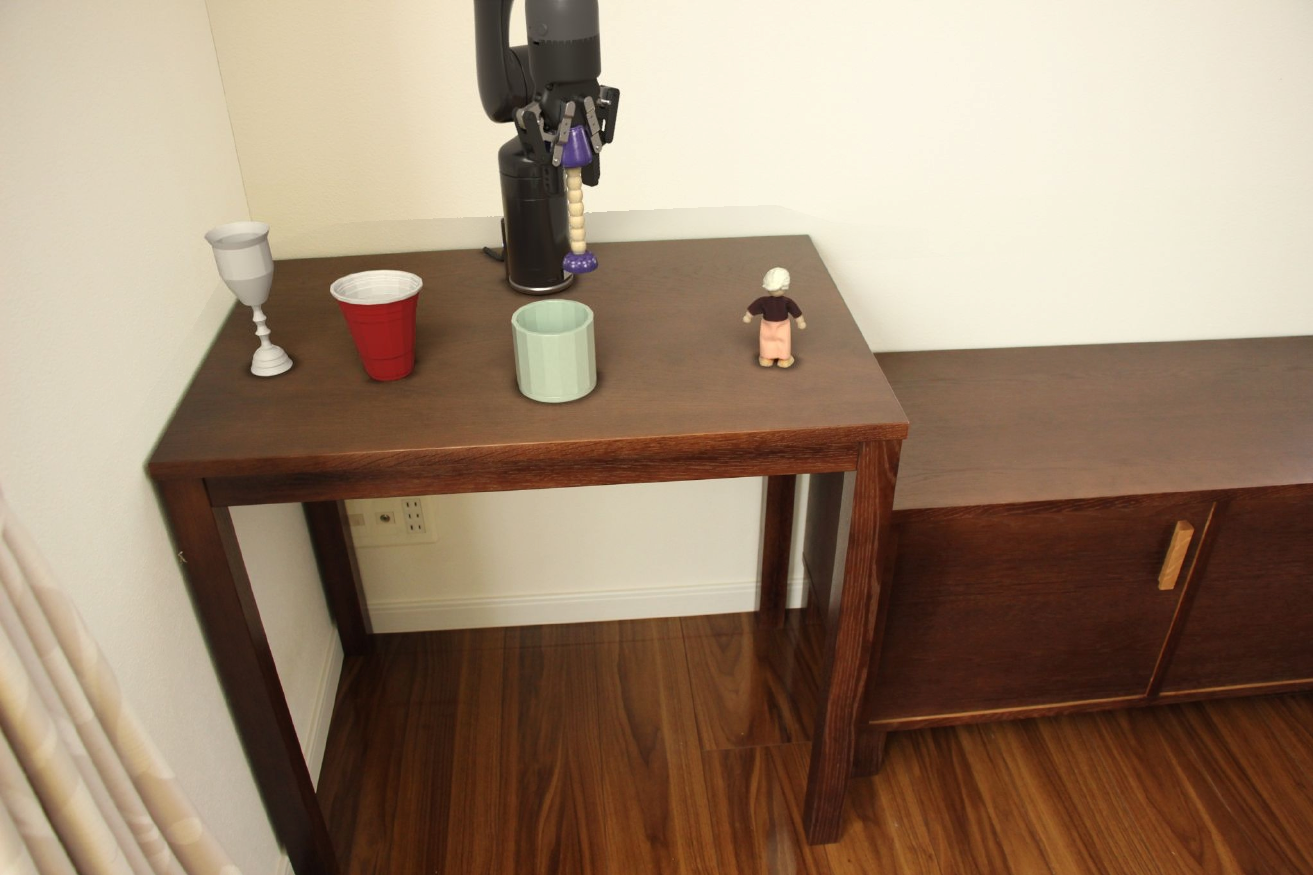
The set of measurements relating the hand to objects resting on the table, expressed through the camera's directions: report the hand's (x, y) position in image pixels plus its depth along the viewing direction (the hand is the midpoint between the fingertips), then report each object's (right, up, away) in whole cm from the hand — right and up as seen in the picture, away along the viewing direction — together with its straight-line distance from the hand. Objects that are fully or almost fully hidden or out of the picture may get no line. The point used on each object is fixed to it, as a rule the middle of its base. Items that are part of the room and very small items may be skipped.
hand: (572, 190), depth 111 cm
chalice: (-40, -19, +15) cm, 46 cm away
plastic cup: (-24, -19, +14) cm, 34 cm away
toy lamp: (0, -8, +5) cm, 10 cm away
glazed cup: (-3, -21, +11) cm, 24 cm away
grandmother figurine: (+24, -18, +14) cm, 34 cm away
